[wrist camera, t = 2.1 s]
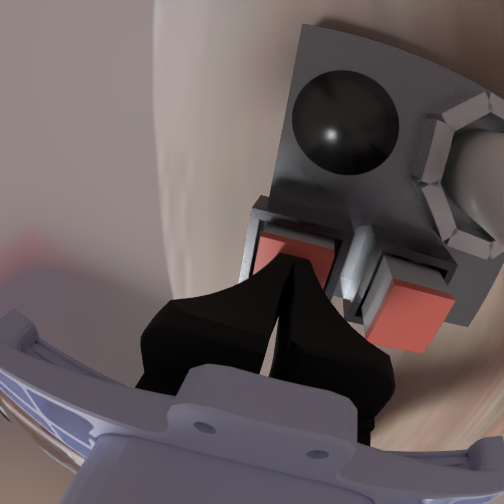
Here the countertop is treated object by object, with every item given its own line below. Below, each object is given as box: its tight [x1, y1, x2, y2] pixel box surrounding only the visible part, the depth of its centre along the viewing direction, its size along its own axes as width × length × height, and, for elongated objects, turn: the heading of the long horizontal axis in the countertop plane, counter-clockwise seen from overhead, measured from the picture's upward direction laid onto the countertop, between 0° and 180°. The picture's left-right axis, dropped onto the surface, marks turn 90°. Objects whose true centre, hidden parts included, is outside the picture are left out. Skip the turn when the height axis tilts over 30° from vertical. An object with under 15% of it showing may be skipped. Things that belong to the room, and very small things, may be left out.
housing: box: [239, 24, 504, 327], centre depth 12 cm, size 13×14×4 cm
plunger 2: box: [362, 255, 455, 353], centre depth 12 cm, size 3×3×2 cm
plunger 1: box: [253, 221, 335, 289], centre depth 13 cm, size 3×3×2 cm
